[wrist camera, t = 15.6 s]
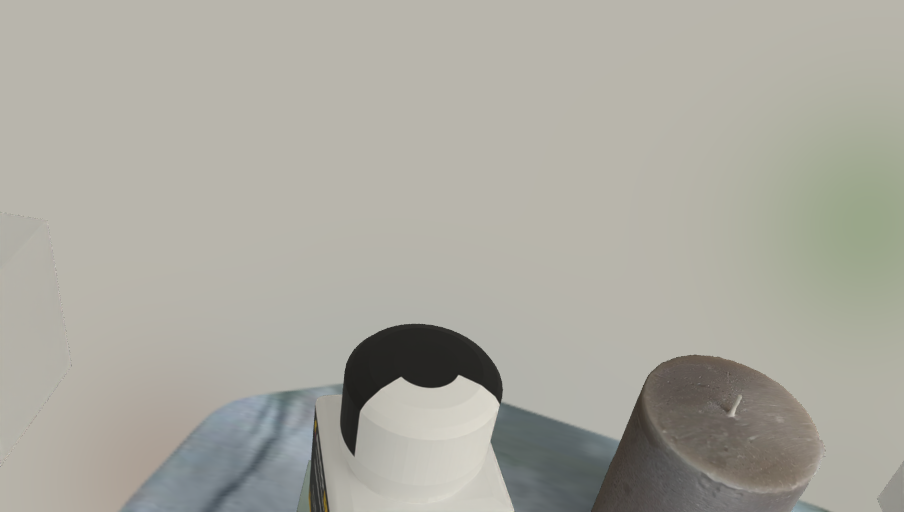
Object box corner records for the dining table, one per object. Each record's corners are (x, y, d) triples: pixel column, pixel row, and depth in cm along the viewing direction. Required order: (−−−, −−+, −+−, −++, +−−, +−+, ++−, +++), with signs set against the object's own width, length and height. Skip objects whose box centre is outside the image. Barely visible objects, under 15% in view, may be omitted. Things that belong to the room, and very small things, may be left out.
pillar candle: (585, 485, 54) (648, 319, 45) (727, 523, 53) (818, 361, 44) (573, 614, 46) (646, 443, 37) (740, 661, 45) (854, 497, 37)
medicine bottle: (307, 496, 38) (321, 305, 31) (449, 482, 40) (491, 300, 33) (323, 639, 33) (343, 446, 26) (486, 614, 35) (547, 429, 28)
